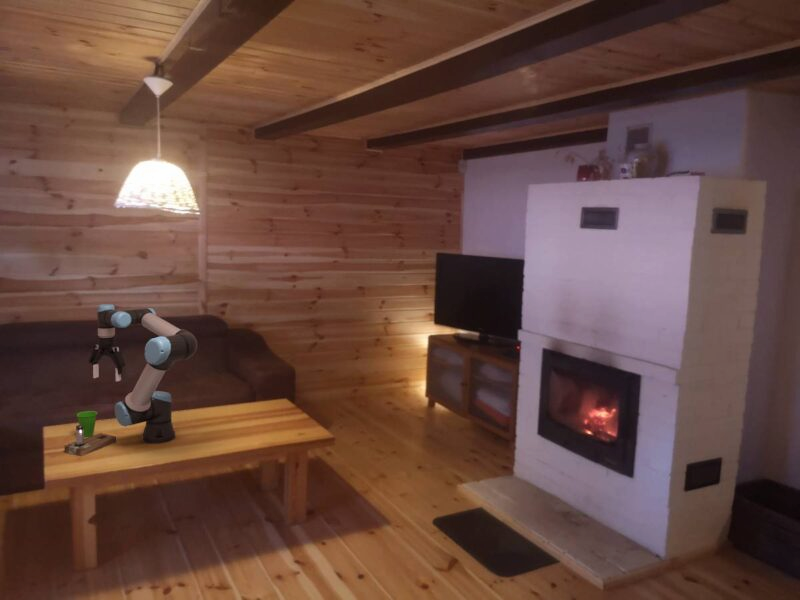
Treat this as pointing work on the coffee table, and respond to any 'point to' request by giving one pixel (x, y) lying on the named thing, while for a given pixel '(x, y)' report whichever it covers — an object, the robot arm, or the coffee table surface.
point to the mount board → (90, 444)
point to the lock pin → (79, 435)
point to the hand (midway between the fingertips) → (107, 379)
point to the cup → (87, 422)
